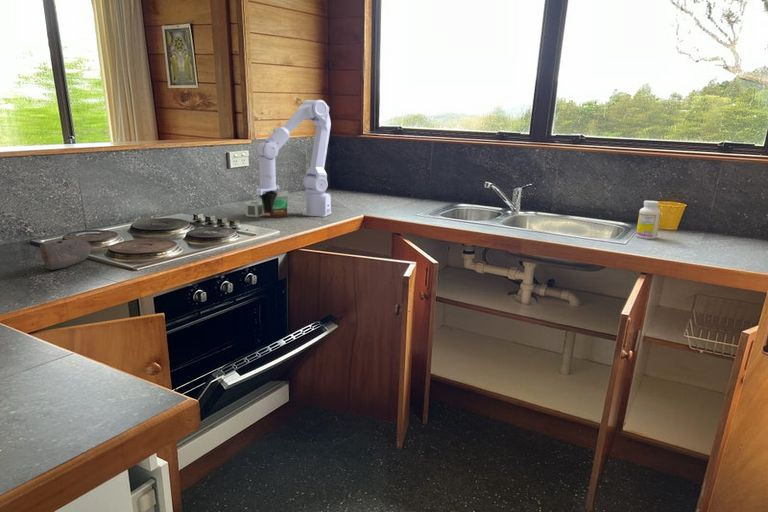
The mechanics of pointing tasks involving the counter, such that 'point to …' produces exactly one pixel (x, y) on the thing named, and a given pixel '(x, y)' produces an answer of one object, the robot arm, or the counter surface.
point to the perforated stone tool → (64, 253)
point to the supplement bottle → (648, 220)
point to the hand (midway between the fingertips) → (268, 211)
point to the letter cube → (254, 209)
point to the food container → (278, 205)
